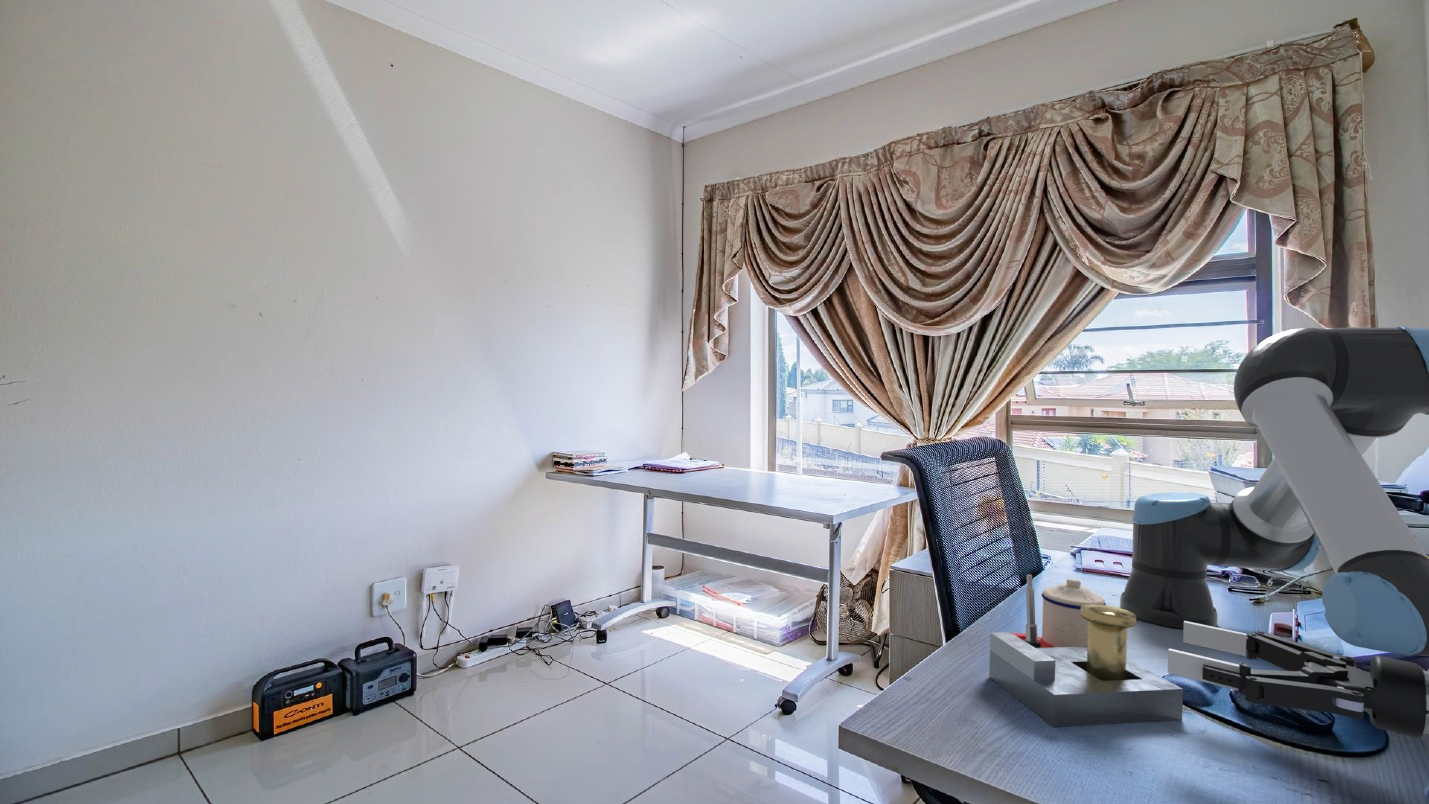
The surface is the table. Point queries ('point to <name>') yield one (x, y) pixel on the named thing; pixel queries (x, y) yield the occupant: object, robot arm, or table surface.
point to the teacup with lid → (1066, 614)
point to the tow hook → (1031, 620)
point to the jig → (1079, 686)
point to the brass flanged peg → (1107, 640)
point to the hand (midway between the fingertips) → (1176, 644)
